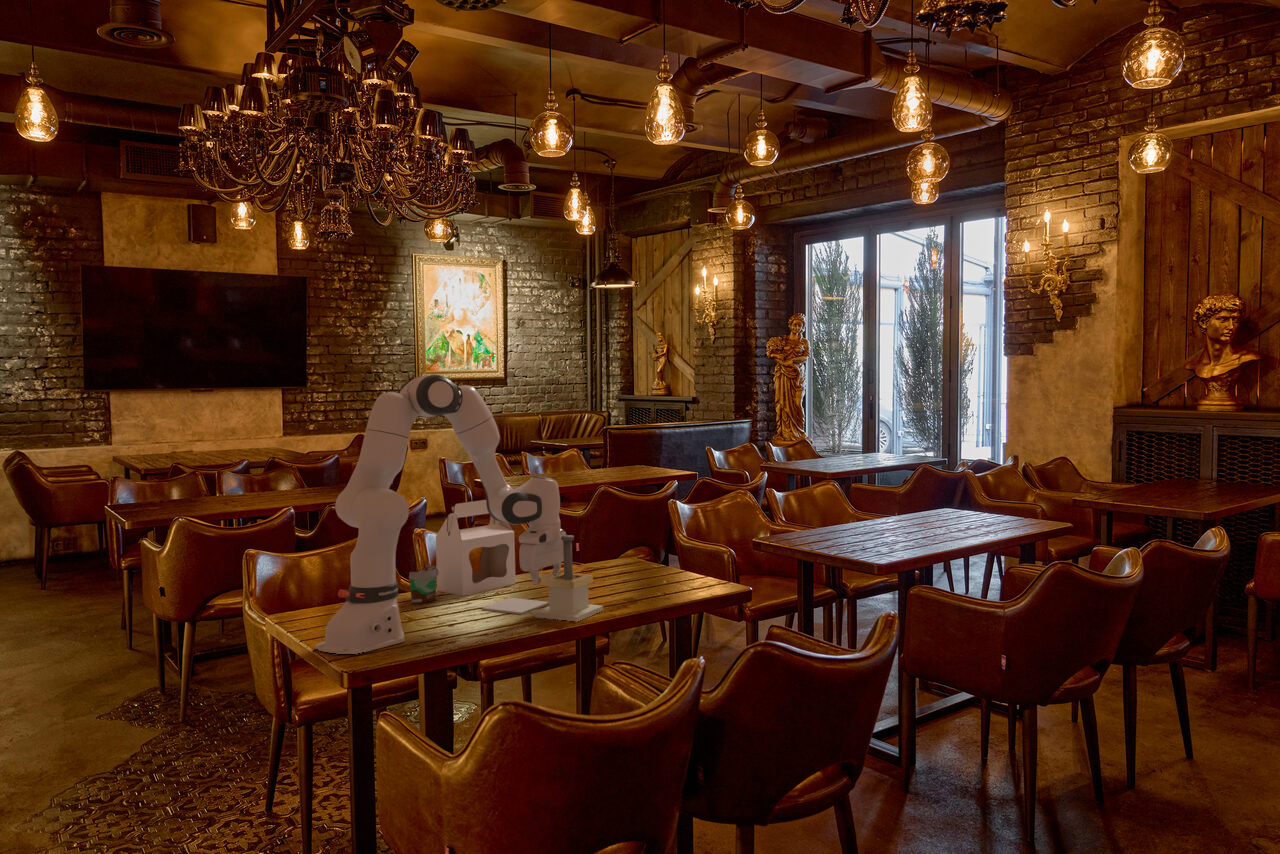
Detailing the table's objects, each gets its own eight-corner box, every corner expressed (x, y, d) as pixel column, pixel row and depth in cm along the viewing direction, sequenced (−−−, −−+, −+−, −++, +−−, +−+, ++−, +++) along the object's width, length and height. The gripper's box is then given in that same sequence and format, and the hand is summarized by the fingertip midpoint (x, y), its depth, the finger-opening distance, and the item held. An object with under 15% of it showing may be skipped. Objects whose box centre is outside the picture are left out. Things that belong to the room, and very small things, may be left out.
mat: (521, 614, 254) (521, 612, 254) (482, 609, 261) (482, 607, 261) (549, 604, 266) (549, 602, 266) (511, 599, 273) (511, 597, 273)
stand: (576, 622, 244) (575, 541, 243) (534, 617, 251) (532, 538, 250) (603, 610, 257) (601, 533, 256) (562, 606, 263) (560, 531, 262)
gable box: (490, 579, 305) (488, 496, 304) (516, 584, 296) (514, 499, 295) (436, 591, 288) (433, 503, 287) (462, 596, 279) (459, 506, 278)
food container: (428, 606, 266) (428, 572, 266) (409, 606, 268) (408, 572, 267) (446, 597, 278) (445, 565, 278) (427, 596, 280) (426, 564, 279)
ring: (573, 589, 247) (573, 581, 247) (528, 584, 254) (528, 577, 254) (593, 582, 255) (592, 575, 255) (548, 577, 263) (548, 571, 263)
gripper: (556, 527, 267) (557, 573, 268) (514, 537, 249) (516, 587, 250) (574, 528, 264) (575, 575, 265) (533, 539, 246) (534, 589, 247)
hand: (546, 581), depth 257 cm, fingers open, 8 cm apart
